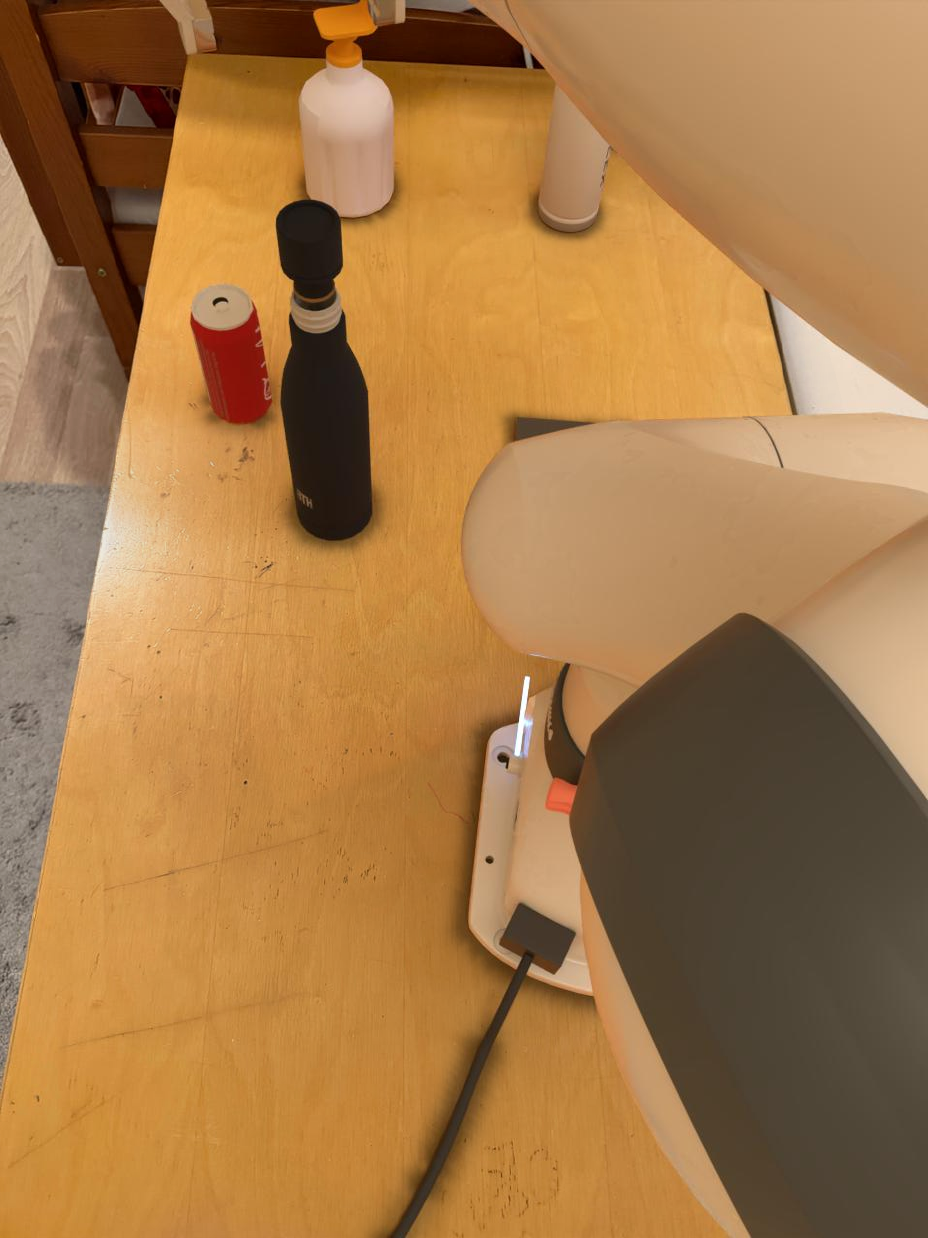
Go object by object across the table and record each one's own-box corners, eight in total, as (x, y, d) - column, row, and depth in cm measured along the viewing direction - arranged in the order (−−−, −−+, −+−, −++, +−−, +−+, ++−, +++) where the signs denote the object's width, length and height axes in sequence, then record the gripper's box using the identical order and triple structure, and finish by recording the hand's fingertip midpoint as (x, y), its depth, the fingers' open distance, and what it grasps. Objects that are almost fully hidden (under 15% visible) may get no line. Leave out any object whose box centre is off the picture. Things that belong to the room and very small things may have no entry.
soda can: (280, 417, 90) (264, 319, 80) (220, 433, 89) (196, 335, 79) (262, 373, 93) (245, 271, 82) (204, 387, 91) (178, 286, 81)
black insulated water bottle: (377, 483, 87) (369, 190, 61) (366, 545, 84) (353, 264, 58) (304, 475, 87) (264, 177, 61) (290, 536, 84) (243, 251, 58)
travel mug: (524, 201, 106) (549, 9, 88) (579, 186, 107) (614, -6, 90) (551, 240, 103) (582, 51, 86) (607, 224, 105) (649, 35, 87)
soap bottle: (297, 168, 106) (272, -87, 84) (381, 155, 108) (377, -98, 86) (317, 226, 102) (296, -26, 81) (404, 211, 104) (406, -38, 82)
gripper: (-19, -271, 34) (90, 104, 46) (541, -315, 38) (506, 40, 50) (-40, -351, 37) (68, 23, 49) (486, -385, 41) (465, -32, 53)
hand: (294, 31), depth 50 cm, fingers open, 8 cm apart
